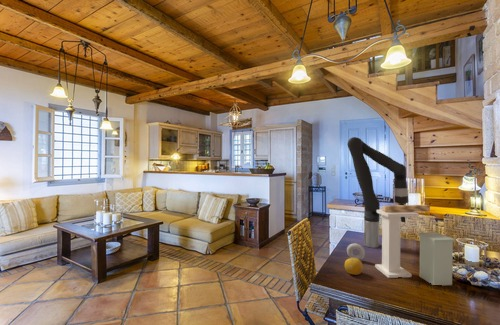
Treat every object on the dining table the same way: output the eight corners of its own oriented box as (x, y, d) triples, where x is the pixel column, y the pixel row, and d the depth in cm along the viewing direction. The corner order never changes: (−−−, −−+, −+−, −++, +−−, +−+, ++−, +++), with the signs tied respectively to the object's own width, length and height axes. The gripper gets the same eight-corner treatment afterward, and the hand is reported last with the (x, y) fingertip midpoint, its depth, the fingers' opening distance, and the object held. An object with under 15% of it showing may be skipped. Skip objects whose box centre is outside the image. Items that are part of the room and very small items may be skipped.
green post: (436, 275, 125) (437, 232, 124) (454, 285, 115) (454, 239, 114) (417, 275, 124) (418, 233, 124) (433, 286, 114) (434, 239, 114)
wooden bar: (426, 210, 130) (426, 204, 130) (429, 211, 127) (429, 205, 127) (382, 211, 129) (382, 205, 129) (385, 212, 126) (385, 206, 126)
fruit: (344, 275, 125) (344, 260, 125) (344, 268, 132) (344, 254, 132) (363, 278, 122) (363, 262, 122) (362, 271, 129) (362, 256, 129)
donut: (346, 259, 144) (346, 243, 144) (347, 257, 147) (347, 241, 147) (365, 263, 139) (365, 245, 139) (365, 260, 142) (365, 243, 142)
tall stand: (403, 266, 135) (403, 208, 134) (419, 276, 123) (420, 213, 122) (375, 267, 134) (375, 209, 133) (388, 277, 122) (389, 214, 121)
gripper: (393, 193, 164) (394, 217, 164) (395, 196, 151) (396, 222, 152) (406, 193, 161) (407, 218, 161) (409, 196, 148) (410, 223, 148)
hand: (402, 220), depth 156 cm, fingers open, 8 cm apart
